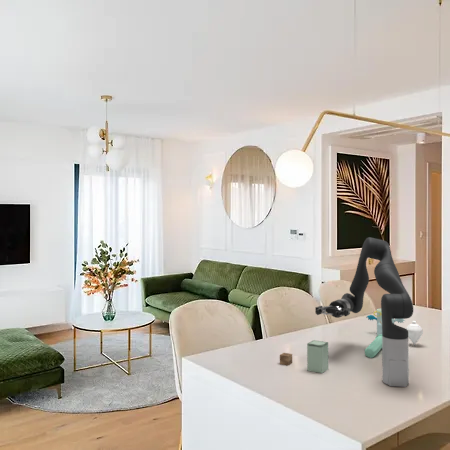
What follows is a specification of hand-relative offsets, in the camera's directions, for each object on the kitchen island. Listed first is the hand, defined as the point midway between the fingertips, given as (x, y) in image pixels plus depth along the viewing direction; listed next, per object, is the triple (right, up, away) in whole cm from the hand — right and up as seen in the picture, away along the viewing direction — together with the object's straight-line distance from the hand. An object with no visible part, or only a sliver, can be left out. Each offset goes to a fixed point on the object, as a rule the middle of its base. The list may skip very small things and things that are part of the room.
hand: (326, 313), depth 200 cm
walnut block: (-17, -22, +1) cm, 28 cm away
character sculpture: (+41, -21, +49) cm, 67 cm away
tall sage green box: (-5, -22, -8) cm, 24 cm away
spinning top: (+48, -21, +27) cm, 59 cm away
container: (+27, -22, +18) cm, 39 cm away
